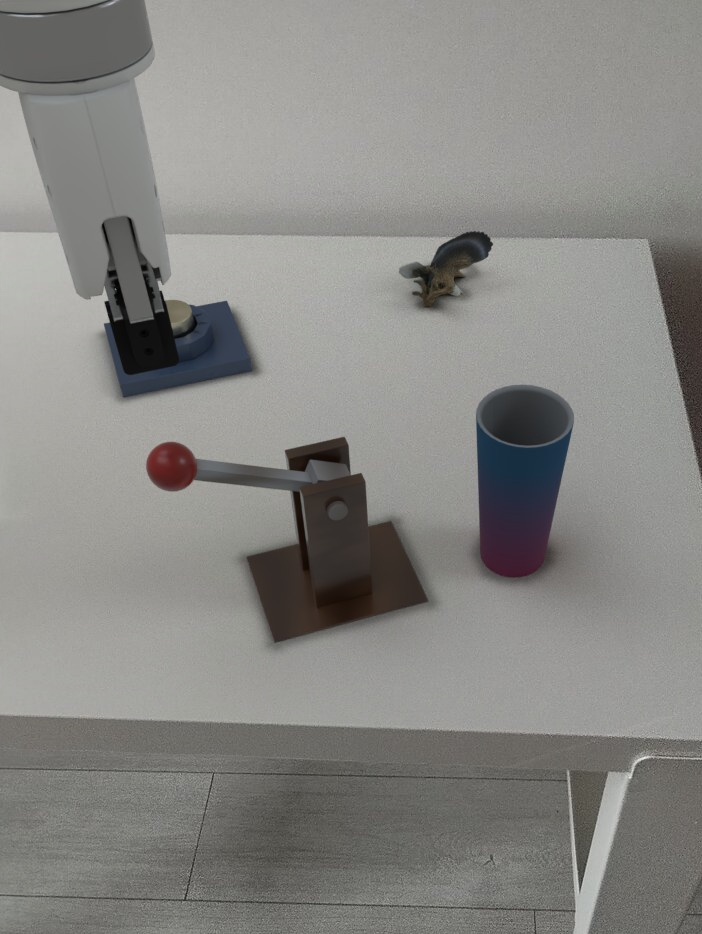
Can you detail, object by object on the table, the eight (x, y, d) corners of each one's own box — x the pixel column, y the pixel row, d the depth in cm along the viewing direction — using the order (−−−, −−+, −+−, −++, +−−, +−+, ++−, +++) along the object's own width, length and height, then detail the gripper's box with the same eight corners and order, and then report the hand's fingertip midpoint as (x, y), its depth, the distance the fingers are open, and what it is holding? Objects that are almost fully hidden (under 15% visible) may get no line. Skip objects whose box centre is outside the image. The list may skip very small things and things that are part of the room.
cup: (571, 562, 84) (594, 415, 72) (514, 607, 80) (528, 461, 69) (509, 519, 87) (521, 372, 75) (451, 561, 83) (455, 414, 72)
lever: (145, 499, 66) (157, 460, 64) (137, 467, 68) (148, 428, 66) (342, 518, 74) (359, 484, 72) (330, 489, 76) (345, 454, 74)
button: (155, 344, 95) (151, 328, 94) (147, 320, 98) (143, 304, 97) (198, 335, 96) (195, 319, 95) (190, 312, 99) (186, 296, 98)
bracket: (275, 651, 77) (254, 530, 68) (248, 566, 83) (224, 443, 73) (428, 609, 80) (428, 488, 70) (391, 530, 86) (387, 407, 76)
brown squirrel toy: (473, 319, 103) (509, 260, 107) (433, 261, 99) (472, 202, 103) (419, 333, 108) (455, 276, 112) (379, 279, 104) (417, 222, 108)
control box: (124, 404, 95) (115, 368, 92) (108, 342, 102) (98, 307, 98) (253, 377, 98) (247, 342, 95) (230, 319, 104) (224, 284, 101)
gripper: (-34, -21, 51) (69, 306, 65) (-10, 110, 41) (104, 457, 55) (122, -39, 52) (189, 283, 66) (177, 82, 43) (242, 426, 57)
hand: (150, 362), depth 61 cm, fingers closed
